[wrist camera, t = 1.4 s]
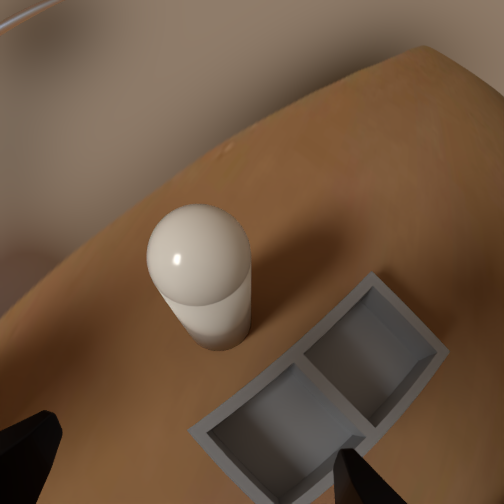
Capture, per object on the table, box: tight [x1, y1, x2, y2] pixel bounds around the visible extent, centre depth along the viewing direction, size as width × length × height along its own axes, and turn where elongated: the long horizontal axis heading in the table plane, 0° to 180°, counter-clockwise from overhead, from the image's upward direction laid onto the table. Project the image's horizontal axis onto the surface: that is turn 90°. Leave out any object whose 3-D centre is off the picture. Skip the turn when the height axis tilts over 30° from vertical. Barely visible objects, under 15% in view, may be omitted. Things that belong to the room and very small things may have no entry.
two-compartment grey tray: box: [187, 271, 450, 504], centre depth 19 cm, size 16×8×4 cm, turn 131°
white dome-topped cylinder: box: [147, 204, 251, 351], centre depth 18 cm, size 5×5×12 cm
